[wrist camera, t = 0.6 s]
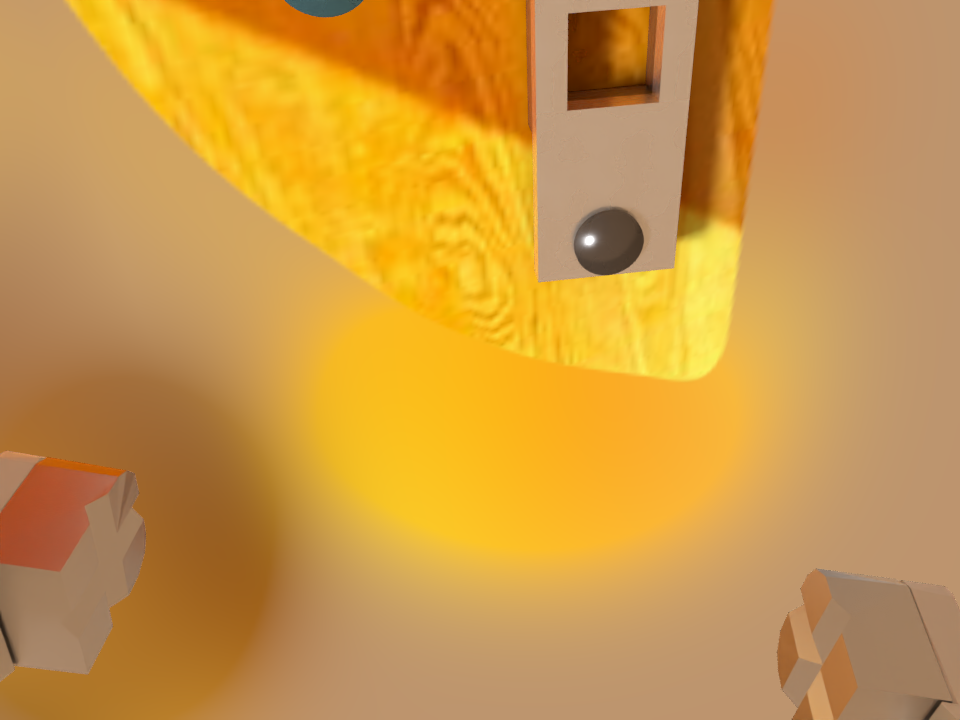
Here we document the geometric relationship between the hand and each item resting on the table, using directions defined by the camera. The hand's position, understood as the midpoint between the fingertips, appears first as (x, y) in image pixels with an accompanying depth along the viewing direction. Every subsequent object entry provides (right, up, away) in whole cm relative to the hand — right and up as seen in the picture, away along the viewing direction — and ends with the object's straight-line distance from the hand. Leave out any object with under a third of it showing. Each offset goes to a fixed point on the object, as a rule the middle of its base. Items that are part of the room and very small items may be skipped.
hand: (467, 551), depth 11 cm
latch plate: (+7, +21, +41) cm, 47 cm away
